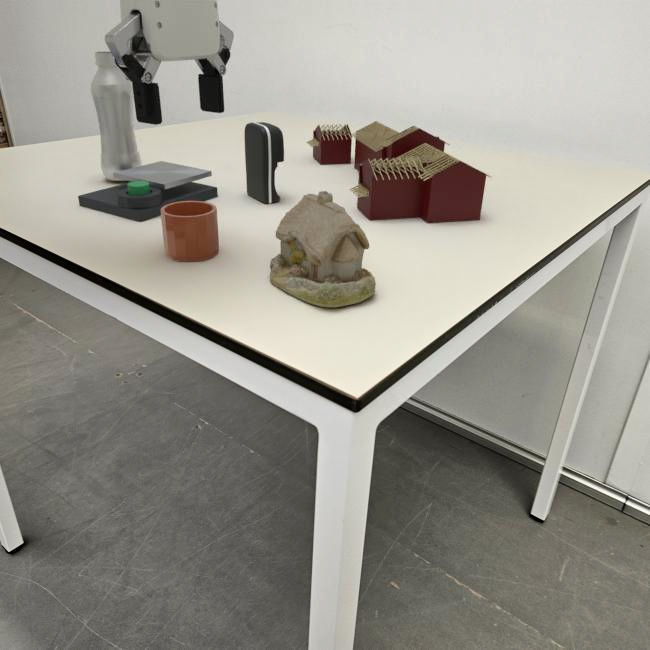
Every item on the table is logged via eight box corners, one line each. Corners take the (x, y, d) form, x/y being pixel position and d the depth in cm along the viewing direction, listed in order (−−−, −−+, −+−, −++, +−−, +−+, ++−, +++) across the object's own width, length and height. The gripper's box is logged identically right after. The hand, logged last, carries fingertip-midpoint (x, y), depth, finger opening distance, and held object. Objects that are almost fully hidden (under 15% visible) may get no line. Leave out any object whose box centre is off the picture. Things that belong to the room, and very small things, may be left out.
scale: (140, 222, 83) (137, 200, 82) (79, 206, 90) (75, 184, 88) (218, 197, 95) (216, 177, 94) (159, 184, 102) (157, 164, 100)
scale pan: (165, 189, 87) (164, 184, 87) (113, 177, 92) (112, 172, 92) (212, 176, 94) (211, 170, 94) (161, 165, 100) (161, 160, 99)
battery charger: (287, 202, 94) (287, 126, 88) (265, 205, 92) (264, 128, 87) (266, 191, 99) (265, 119, 94) (245, 194, 97) (242, 120, 92)
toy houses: (496, 218, 89) (508, 148, 84) (364, 226, 84) (368, 153, 80) (392, 153, 127) (396, 102, 123) (297, 156, 123) (297, 103, 118)
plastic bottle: (96, 179, 103) (76, 51, 94) (133, 173, 107) (118, 50, 98) (113, 187, 99) (94, 54, 90) (150, 181, 103) (136, 53, 94)
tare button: (138, 198, 84) (137, 187, 83) (124, 195, 85) (122, 184, 85) (155, 193, 86) (153, 183, 85) (140, 190, 88) (139, 179, 87)
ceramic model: (251, 268, 70) (248, 182, 65) (334, 252, 75) (336, 172, 70) (311, 317, 59) (313, 219, 55) (402, 294, 65) (410, 203, 60)
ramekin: (193, 266, 70) (189, 220, 68) (153, 254, 73) (148, 210, 71) (230, 250, 75) (227, 206, 73) (191, 239, 78) (188, 197, 76)
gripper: (199, -57, 67) (210, 105, 75) (65, -75, 54) (96, 124, 62) (252, -60, 63) (258, 111, 71) (122, -79, 50) (147, 132, 58)
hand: (182, 117), depth 67 cm, fingers open, 9 cm apart
